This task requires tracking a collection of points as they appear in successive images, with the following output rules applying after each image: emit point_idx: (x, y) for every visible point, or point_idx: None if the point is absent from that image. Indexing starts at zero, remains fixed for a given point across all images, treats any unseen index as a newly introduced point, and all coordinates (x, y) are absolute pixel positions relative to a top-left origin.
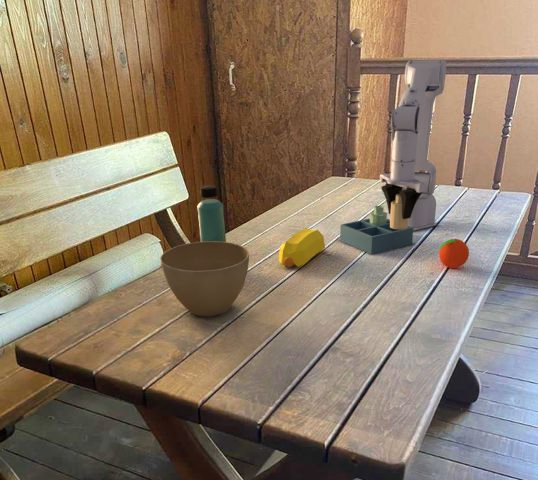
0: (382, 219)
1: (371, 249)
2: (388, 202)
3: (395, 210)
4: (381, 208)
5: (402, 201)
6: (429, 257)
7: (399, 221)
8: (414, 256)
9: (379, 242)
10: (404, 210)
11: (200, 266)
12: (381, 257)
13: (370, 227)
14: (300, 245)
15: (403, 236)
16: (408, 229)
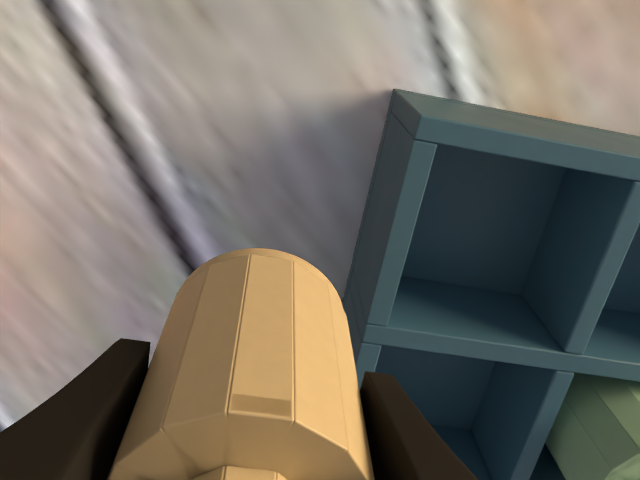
0: (583, 458)
1: (399, 93)
2: (420, 455)
3: (222, 357)
4: None
5: (42, 467)
6: (72, 310)
7: (185, 306)
8: (149, 262)
9: (387, 181)
10: (65, 387)
11: None
12: (294, 90)
13: (591, 308)
14: None
15: None
16: None
